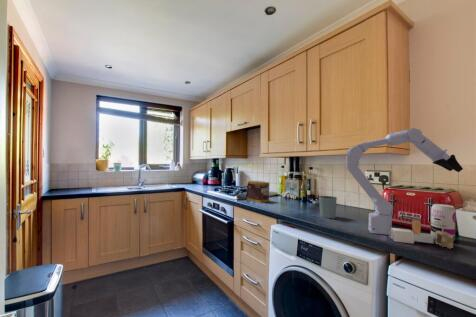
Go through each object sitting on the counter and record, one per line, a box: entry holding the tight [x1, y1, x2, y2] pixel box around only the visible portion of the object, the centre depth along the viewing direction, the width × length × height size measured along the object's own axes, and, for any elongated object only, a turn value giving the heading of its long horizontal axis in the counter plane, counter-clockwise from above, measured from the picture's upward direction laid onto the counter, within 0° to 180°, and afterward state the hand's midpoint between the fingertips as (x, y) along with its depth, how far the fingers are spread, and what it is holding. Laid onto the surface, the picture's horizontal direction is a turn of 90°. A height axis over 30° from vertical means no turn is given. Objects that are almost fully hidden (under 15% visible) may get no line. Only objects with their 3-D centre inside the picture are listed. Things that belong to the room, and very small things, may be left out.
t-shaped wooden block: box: [388, 219, 435, 244], centre depth 100 cm, size 15×3×8 cm, turn 71°
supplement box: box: [246, 180, 270, 203], centre depth 193 cm, size 10×15×16 cm
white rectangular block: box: [391, 227, 415, 245], centre depth 101 cm, size 7×5×5 cm, turn 71°
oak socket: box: [435, 231, 454, 249], centre depth 97 cm, size 3×6×5 cm, turn 161°
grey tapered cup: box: [318, 195, 338, 219], centre depth 142 cm, size 10×10×12 cm
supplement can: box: [430, 203, 456, 241], centre depth 105 cm, size 8×8×15 cm
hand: (456, 170), depth 103 cm, fingers open, 7 cm apart
